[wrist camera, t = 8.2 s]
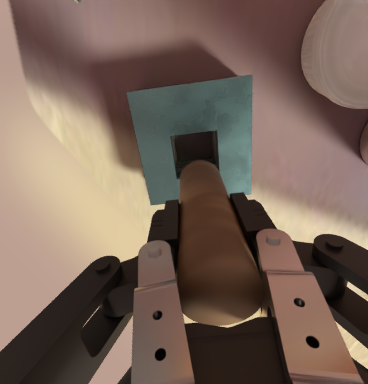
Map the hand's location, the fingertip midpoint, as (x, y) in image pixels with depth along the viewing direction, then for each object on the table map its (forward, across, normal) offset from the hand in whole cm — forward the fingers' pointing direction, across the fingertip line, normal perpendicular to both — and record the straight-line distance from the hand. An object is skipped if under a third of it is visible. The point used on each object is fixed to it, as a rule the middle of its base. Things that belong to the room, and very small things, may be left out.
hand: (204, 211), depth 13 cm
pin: (+4, 0, 0) cm, 4 cm away
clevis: (+16, 0, +1) cm, 16 cm away
